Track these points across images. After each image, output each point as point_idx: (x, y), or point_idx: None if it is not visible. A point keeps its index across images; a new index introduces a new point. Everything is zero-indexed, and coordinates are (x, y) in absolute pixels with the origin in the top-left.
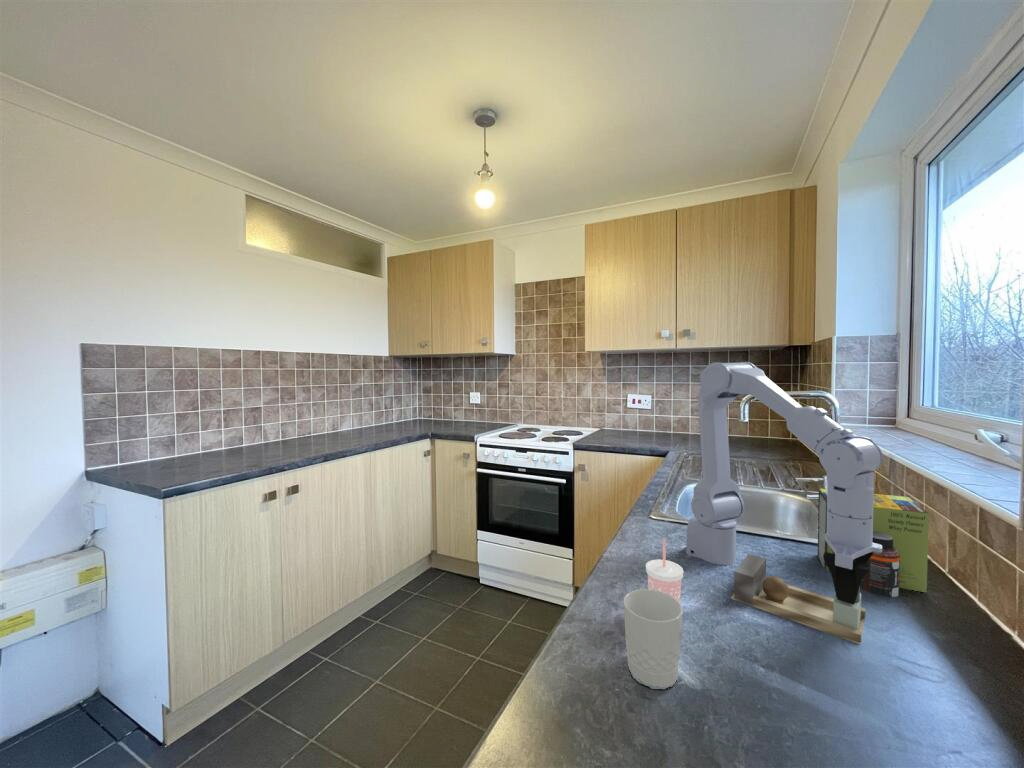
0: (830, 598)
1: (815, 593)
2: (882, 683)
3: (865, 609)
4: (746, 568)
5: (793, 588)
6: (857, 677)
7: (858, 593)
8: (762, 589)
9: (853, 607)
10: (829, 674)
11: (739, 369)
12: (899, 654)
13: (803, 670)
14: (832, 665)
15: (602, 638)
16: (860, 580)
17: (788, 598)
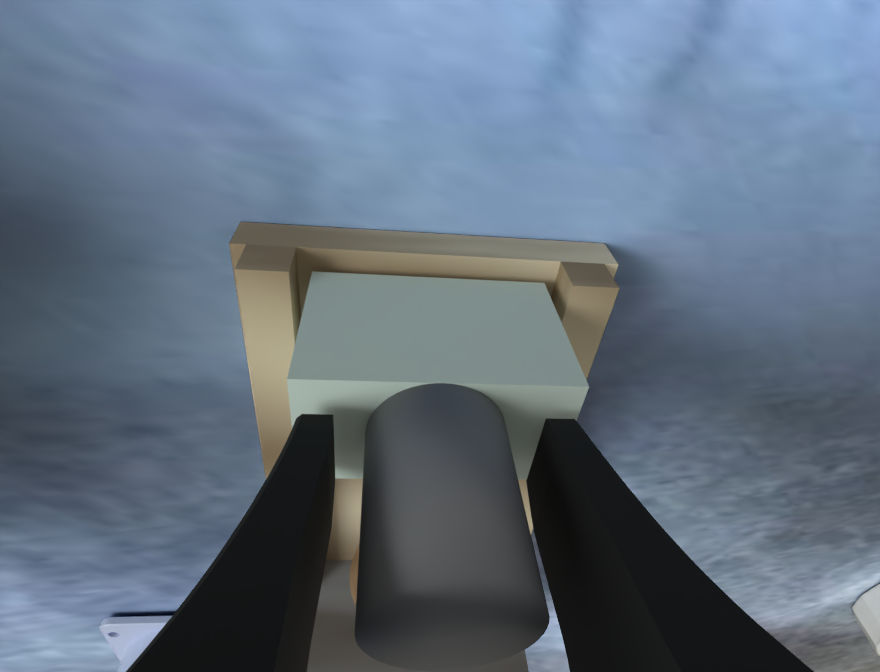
0: (265, 412)
1: (267, 461)
2: (836, 164)
3: (239, 266)
4: None
5: None
6: (817, 250)
7: (478, 443)
8: (351, 559)
9: (575, 405)
10: (823, 330)
11: None
12: (518, 68)
13: (821, 391)
14: (758, 325)
15: (808, 659)
16: (772, 642)
17: (358, 499)
